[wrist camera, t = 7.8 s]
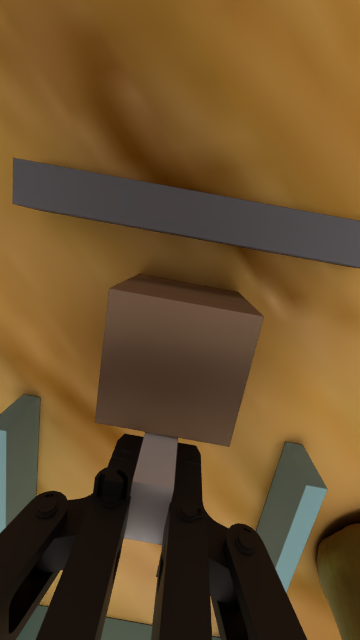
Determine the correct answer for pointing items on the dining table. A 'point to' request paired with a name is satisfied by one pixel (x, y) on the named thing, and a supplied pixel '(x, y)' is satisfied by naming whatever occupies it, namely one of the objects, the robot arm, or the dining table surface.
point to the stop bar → (186, 213)
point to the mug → (342, 578)
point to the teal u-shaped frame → (274, 529)
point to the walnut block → (175, 358)
